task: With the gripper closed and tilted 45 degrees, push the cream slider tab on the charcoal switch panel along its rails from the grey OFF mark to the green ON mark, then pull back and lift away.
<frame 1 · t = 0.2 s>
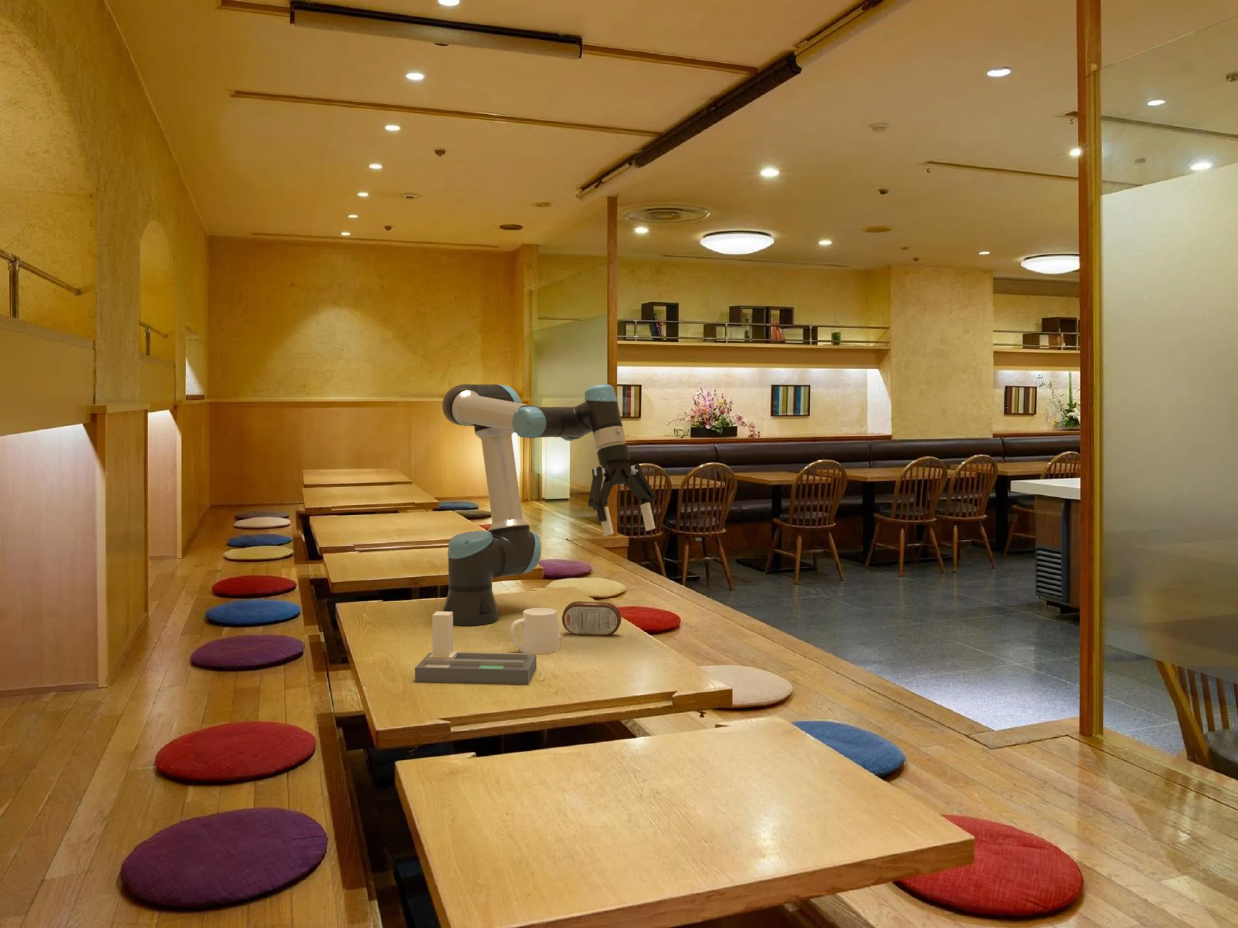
hand: (630, 532, 228), 28 cm above the table, tool tilted 20°, fingers open, 13 cm apart
tin: (591, 635, 241), on the table
mug: (535, 651, 226), on the table
slider tab: (442, 636, 205), point 8 cm above the table, slide at 0.0 cm
switch panel: (477, 674, 205), on the table
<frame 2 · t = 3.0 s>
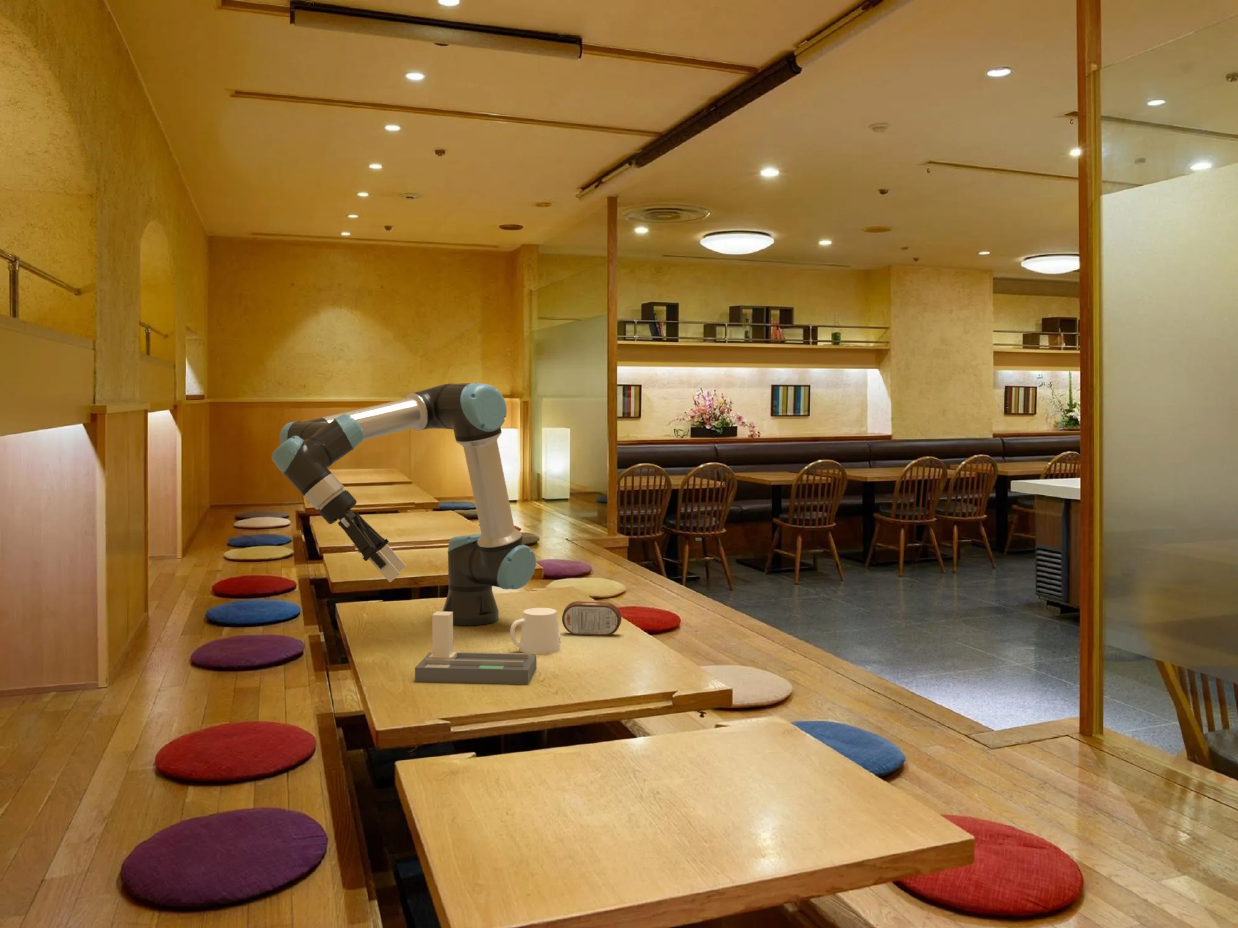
hand: (398, 574, 204), 22 cm above the table, tool tilted 40°, fingers open, 13 cm apart
nothing on the table moved.
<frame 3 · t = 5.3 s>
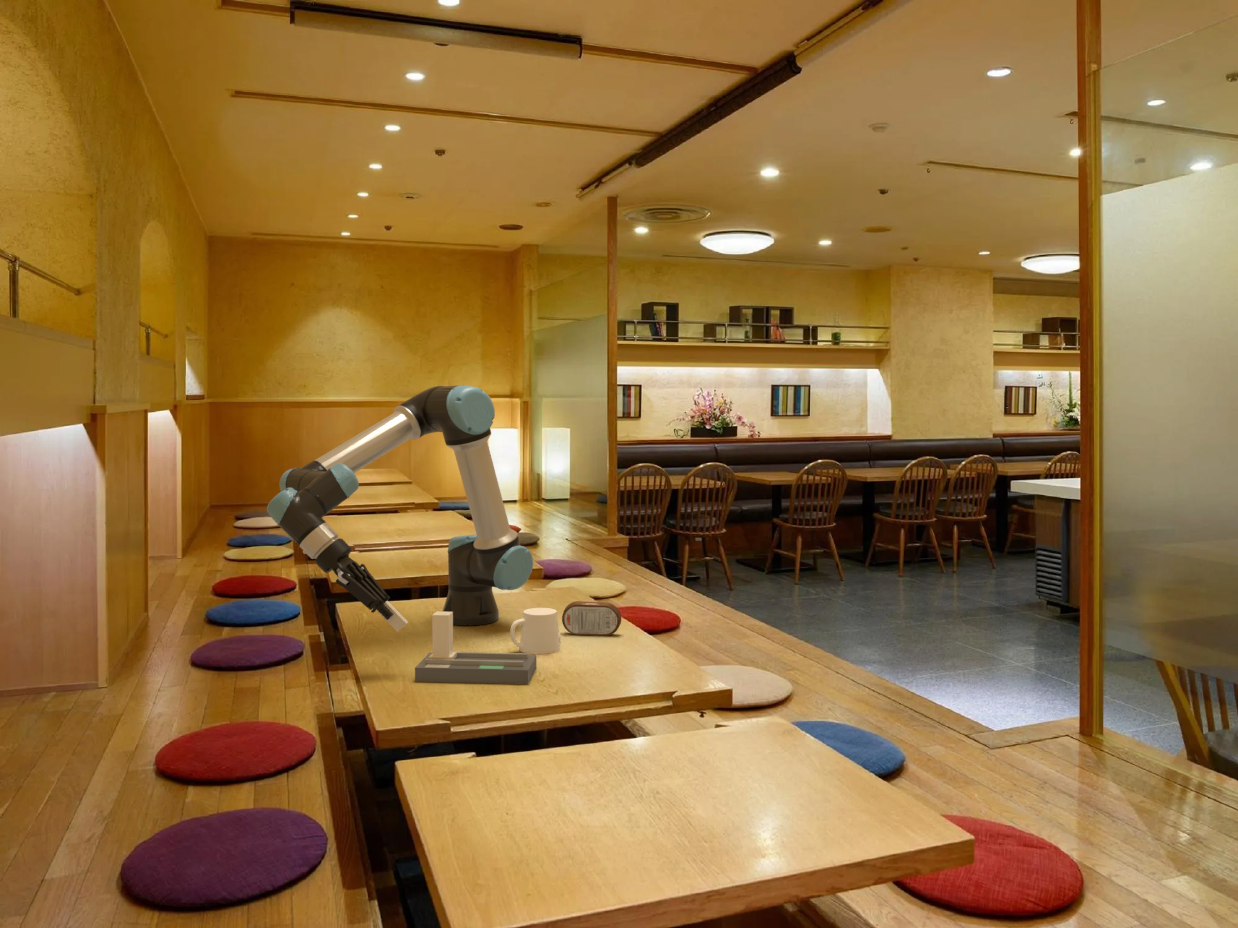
hand: (402, 626, 205), 10 cm above the table, tool tilted 45°, fingers closed
nothing on the table moved.
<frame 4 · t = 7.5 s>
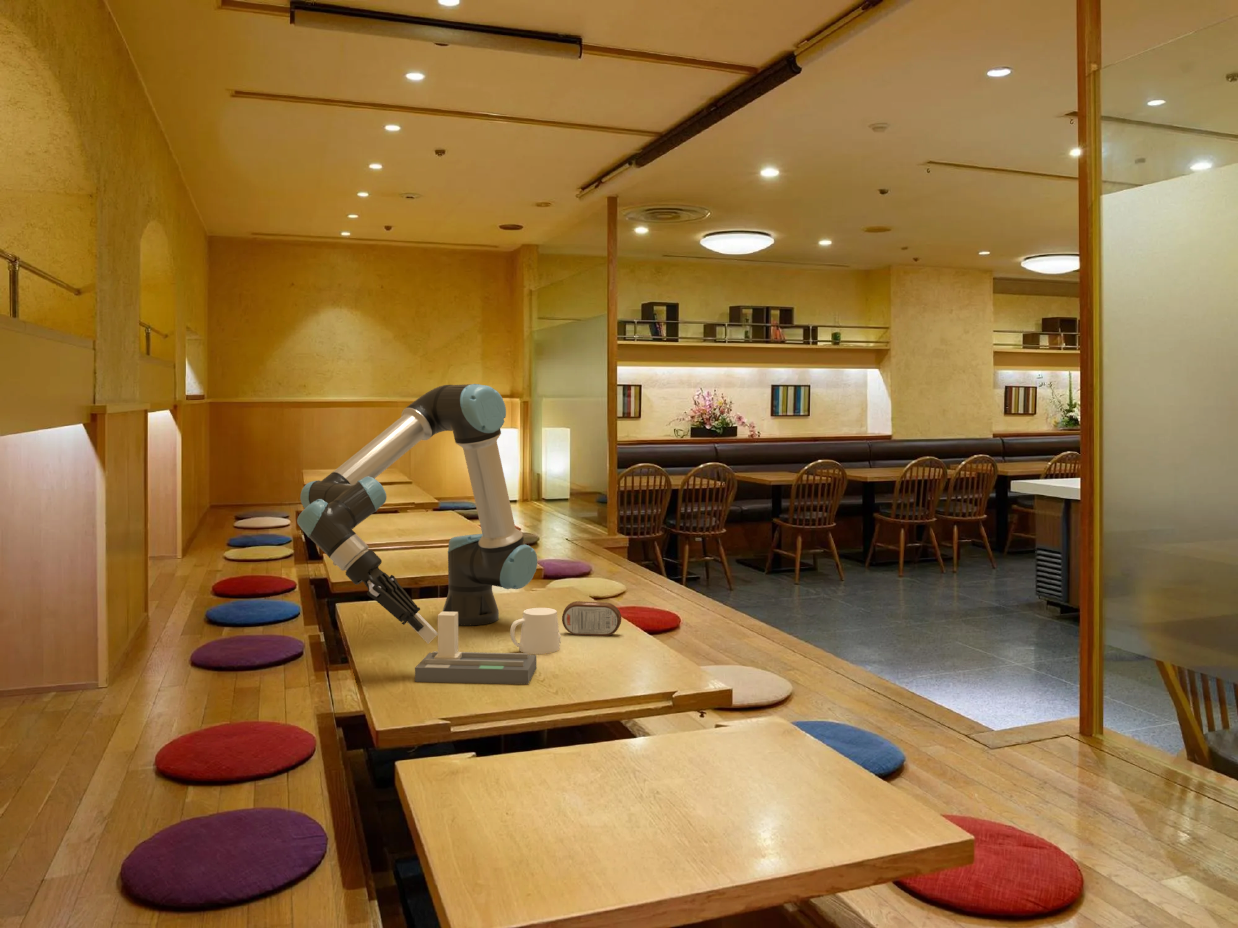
hand: (433, 638, 205), 8 cm above the table, tool tilted 45°, fingers closed
slider tab: (448, 636, 205), point 8 cm above the table, slide at 1.2 cm, touching gripper
everything else where it was.
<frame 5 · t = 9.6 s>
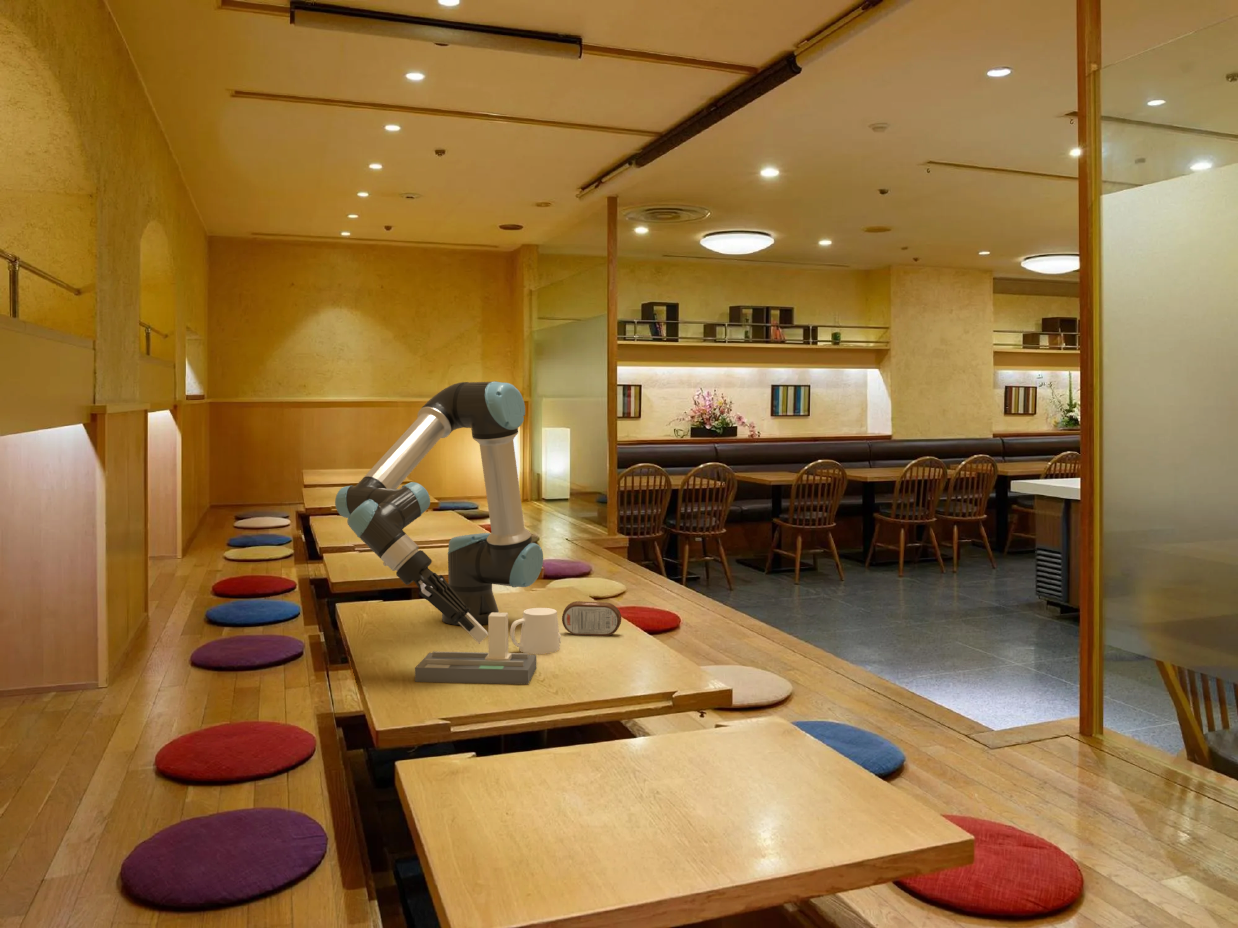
hand: (484, 638, 204), 8 cm above the table, tool tilted 45°, fingers closed
slider tab: (498, 637, 204), point 8 cm above the table, slide at 12.1 cm, touching gripper
everything else where it was.
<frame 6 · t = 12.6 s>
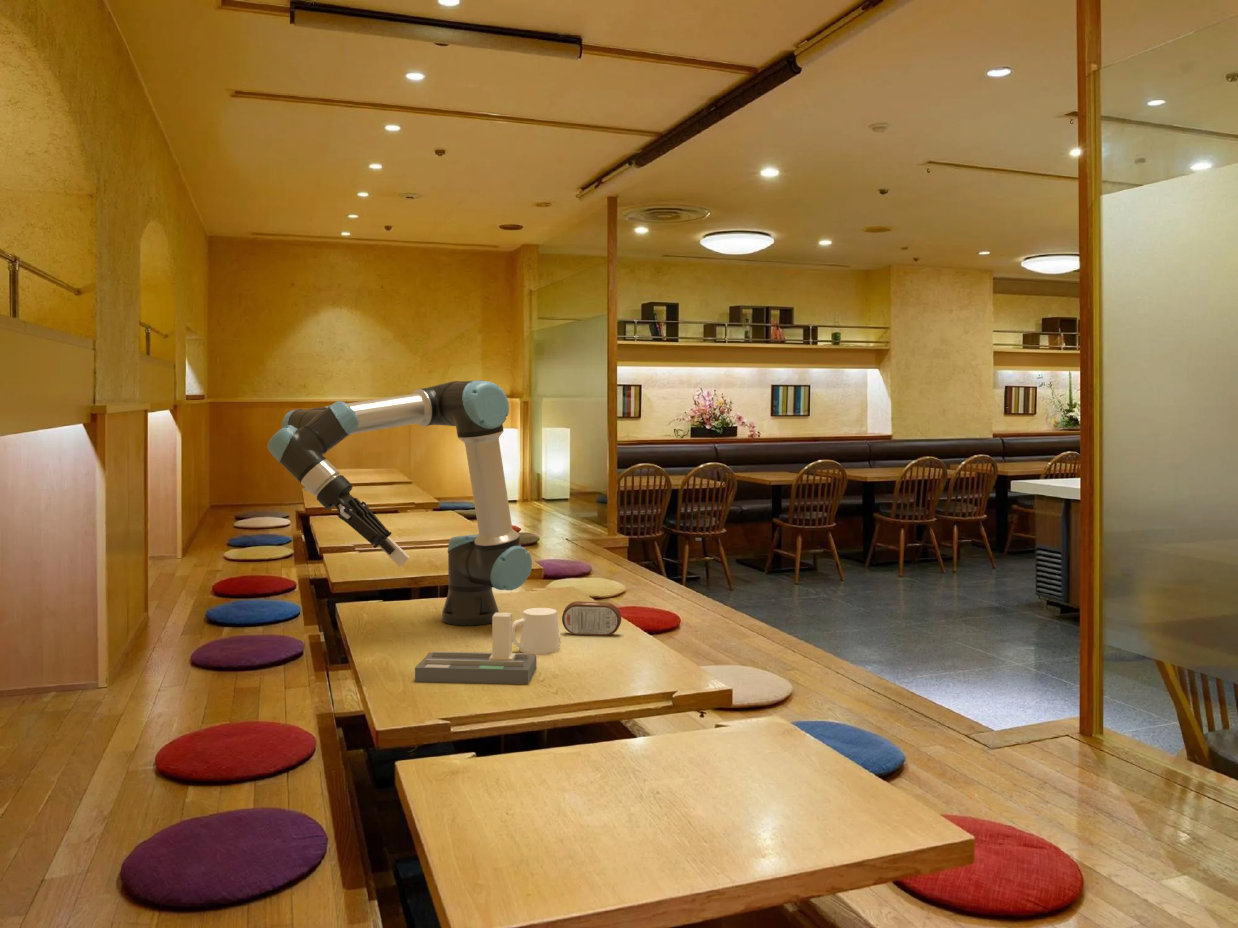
hand: (405, 562, 207), 24 cm above the table, tool tilted 45°, fingers closed
slider tab: (502, 637, 204), point 8 cm above the table, slide at 13.0 cm
everything else where it was.
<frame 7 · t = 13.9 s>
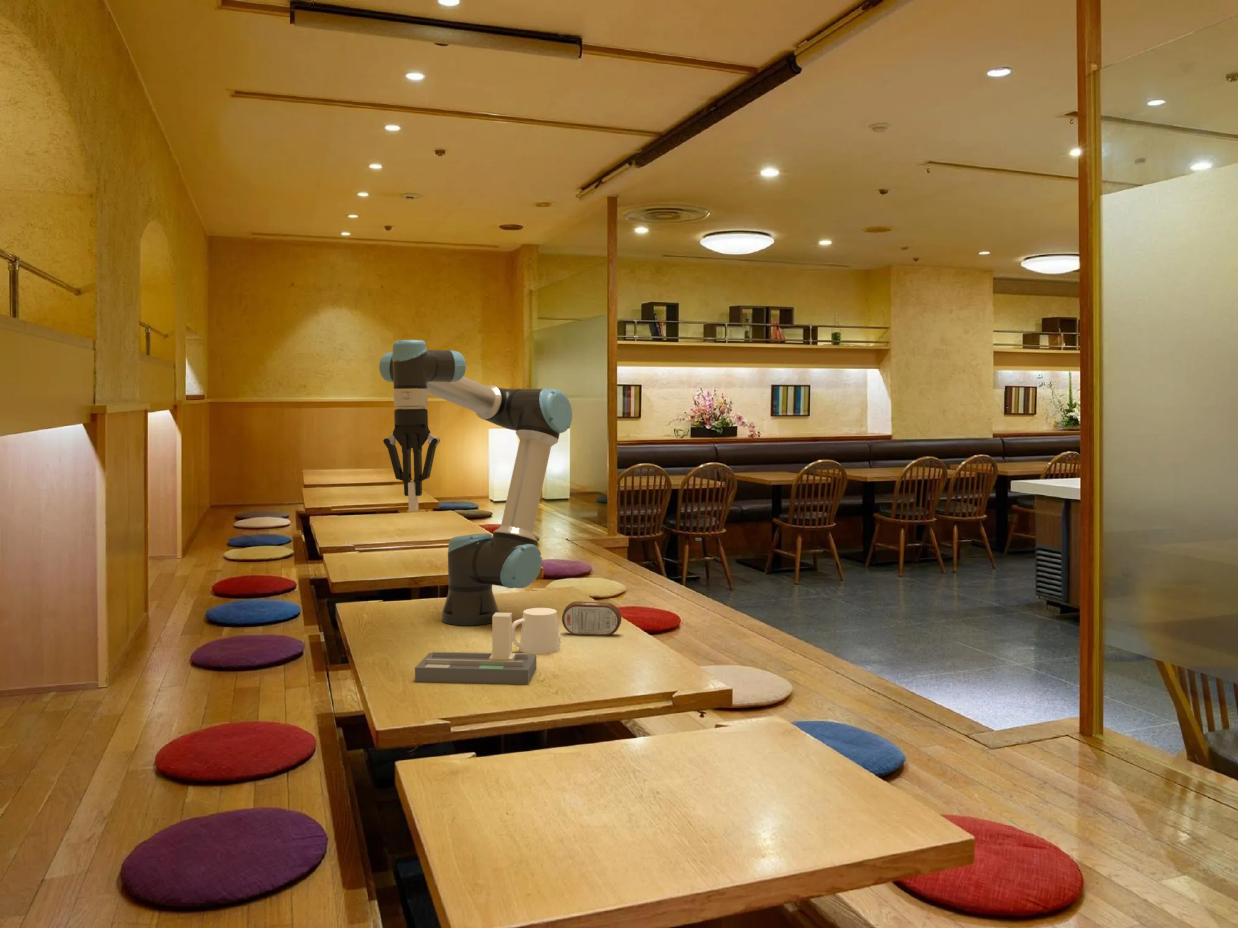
hand: (413, 509, 220), 34 cm above the table, tool pointing down, fingers closed
nothing on the table moved.
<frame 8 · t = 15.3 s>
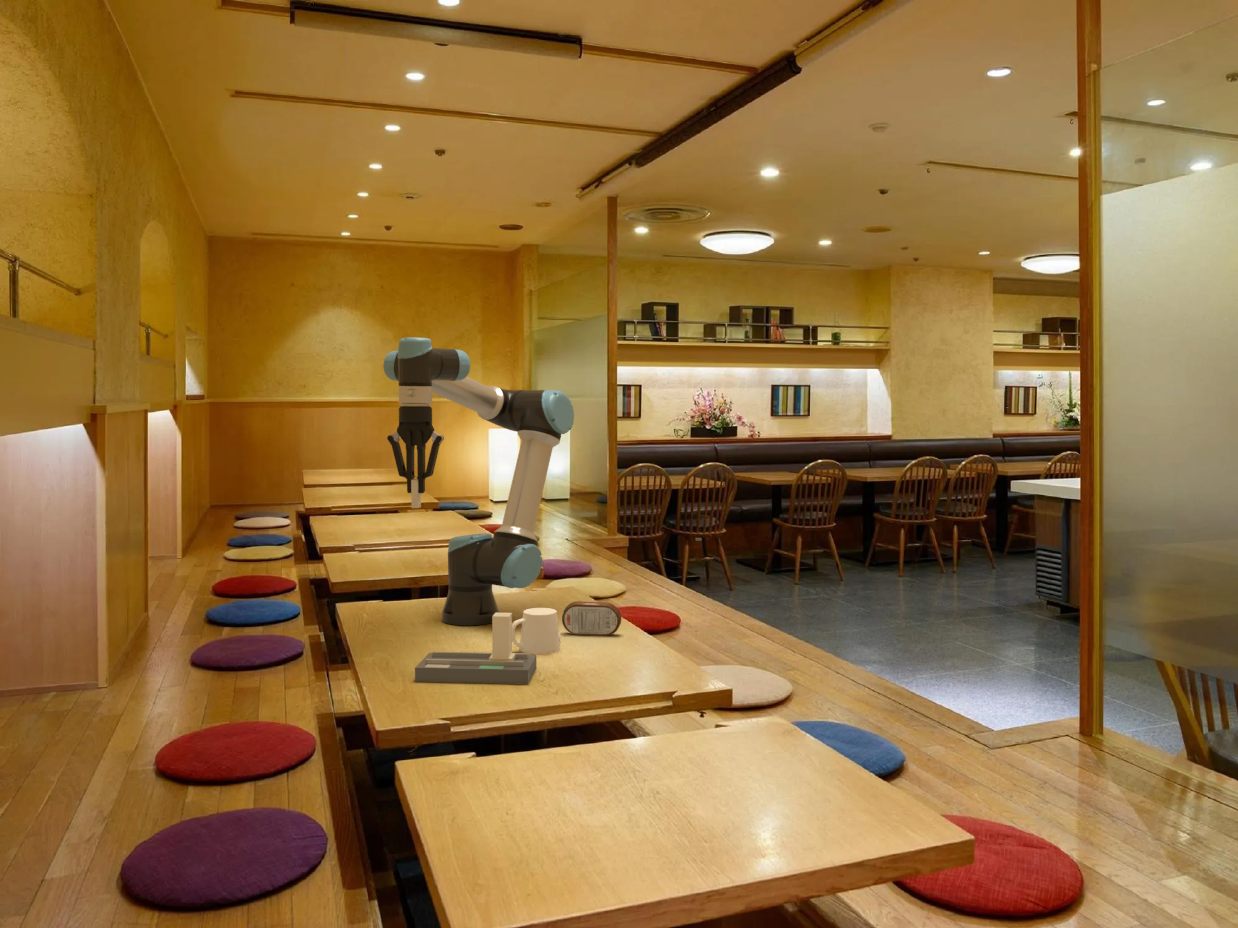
hand: (416, 507, 220), 34 cm above the table, tool pointing down, fingers closed
nothing on the table moved.
at the end: slider tab slide at 13.0 cm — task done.
